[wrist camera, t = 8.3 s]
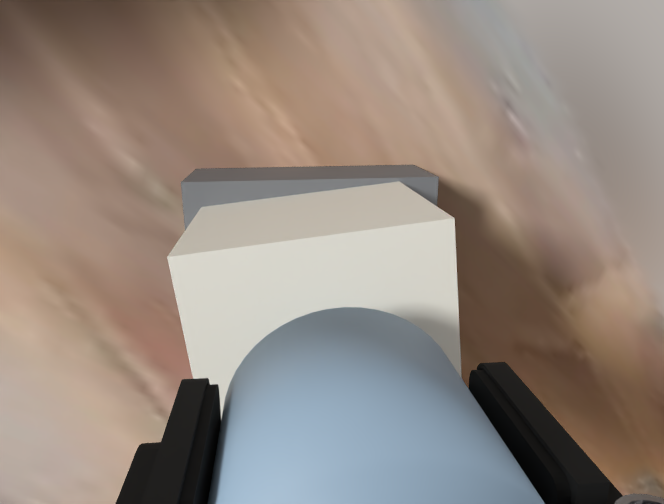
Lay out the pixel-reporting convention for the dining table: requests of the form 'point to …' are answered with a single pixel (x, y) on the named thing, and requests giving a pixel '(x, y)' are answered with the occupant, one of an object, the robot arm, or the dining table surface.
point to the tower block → (312, 269)
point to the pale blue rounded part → (358, 421)
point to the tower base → (293, 183)
